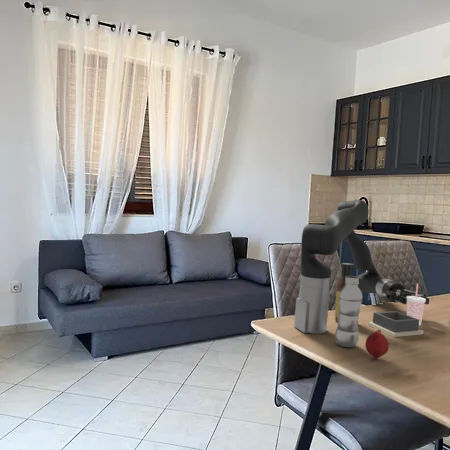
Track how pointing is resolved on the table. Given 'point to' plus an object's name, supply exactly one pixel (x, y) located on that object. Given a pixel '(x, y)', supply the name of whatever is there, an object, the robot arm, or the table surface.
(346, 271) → the sauce bottle
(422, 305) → the beverage cup
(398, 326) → the grey tray on board
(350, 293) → the plastic bottle
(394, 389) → the table surface
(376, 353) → the onion
